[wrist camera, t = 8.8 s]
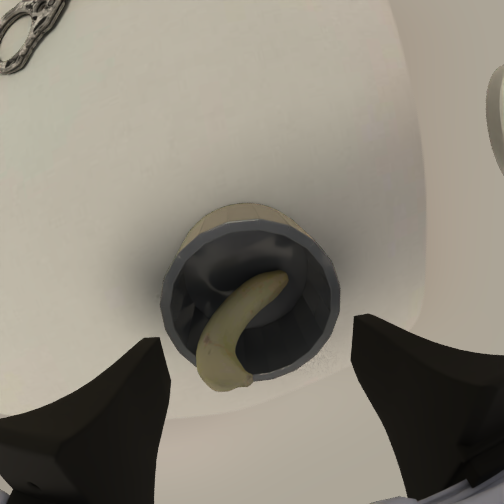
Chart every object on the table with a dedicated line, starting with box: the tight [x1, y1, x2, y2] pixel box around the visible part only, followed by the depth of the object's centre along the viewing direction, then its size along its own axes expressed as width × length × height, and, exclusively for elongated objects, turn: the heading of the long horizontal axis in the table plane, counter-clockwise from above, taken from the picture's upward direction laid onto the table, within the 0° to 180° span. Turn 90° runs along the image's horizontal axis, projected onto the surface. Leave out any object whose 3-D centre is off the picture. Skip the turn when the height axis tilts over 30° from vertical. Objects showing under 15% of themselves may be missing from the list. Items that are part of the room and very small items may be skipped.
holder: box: [160, 203, 340, 382], centre depth 17 cm, size 8×8×6 cm
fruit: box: [196, 270, 289, 392], centre depth 16 cm, size 4×8×2 cm
